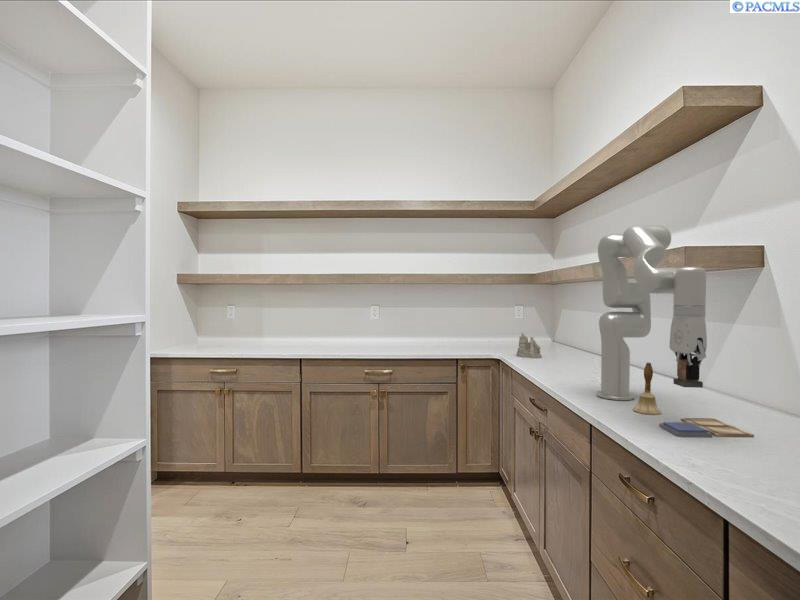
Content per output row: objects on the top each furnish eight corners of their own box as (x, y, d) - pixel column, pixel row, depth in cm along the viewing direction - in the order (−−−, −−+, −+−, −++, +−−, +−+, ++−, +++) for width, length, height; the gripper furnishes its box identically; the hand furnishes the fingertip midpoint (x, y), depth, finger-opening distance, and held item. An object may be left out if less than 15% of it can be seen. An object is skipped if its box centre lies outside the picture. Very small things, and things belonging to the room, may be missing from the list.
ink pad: (659, 426, 132) (659, 421, 132) (691, 427, 132) (691, 421, 132) (677, 436, 123) (677, 430, 123) (711, 437, 123) (711, 431, 123)
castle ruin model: (536, 358, 270) (536, 333, 271) (511, 357, 281) (511, 332, 282) (548, 357, 282) (548, 333, 282) (523, 356, 292) (523, 332, 293)
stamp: (673, 383, 130) (674, 358, 129) (691, 383, 129) (692, 359, 129) (683, 387, 125) (684, 361, 124) (702, 387, 124) (703, 361, 124)
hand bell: (652, 408, 153) (652, 360, 153) (667, 415, 145) (668, 364, 145) (627, 408, 153) (628, 360, 153) (641, 415, 145) (642, 364, 145)
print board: (680, 420, 139) (680, 417, 139) (714, 420, 139) (714, 418, 139) (716, 436, 123) (716, 434, 123) (754, 437, 123) (754, 434, 123)
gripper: (659, 310, 135) (658, 372, 135) (693, 313, 119) (692, 384, 119) (685, 310, 135) (684, 373, 135) (723, 313, 118) (721, 384, 119)
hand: (688, 377), depth 127 cm, fingers closed on stamp, 3 cm apart
